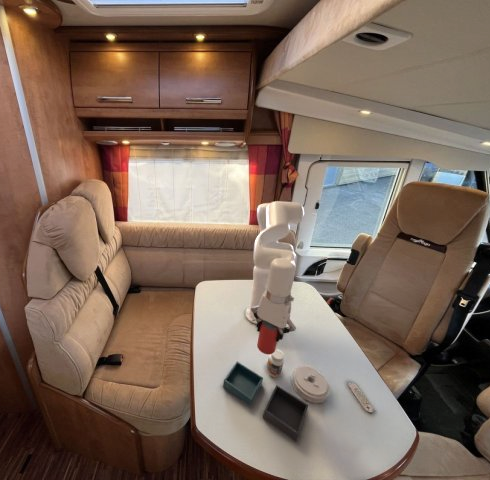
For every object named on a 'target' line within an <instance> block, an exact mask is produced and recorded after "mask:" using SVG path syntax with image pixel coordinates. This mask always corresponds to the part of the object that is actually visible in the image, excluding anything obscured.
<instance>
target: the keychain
mask: <svg viewBox="0 0 490 480" xmlns="http://www.w3.org/2000/svg"><path fill="white" fill-rule="evenodd" d="M348 387H349V389H350V390H351V392H352V393H353V394H354V397H356V399H357V400H358V402H359V404H360V405H361V407H362V408H363V409H364V411H366V412H367V413H373V411H374V407H373V406H372V405H371V404H370V402H369V401H368V399H367V398H366V396H365V395H364V394H363V392H362V391H361V390H360V388H359V386H358V385H357V384H356V383H354V382H349V383H348Z"/></svg>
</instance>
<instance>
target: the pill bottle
mask: <svg viewBox="0 0 490 480" xmlns="http://www.w3.org/2000/svg"><path fill="white" fill-rule="evenodd" d="M284 358H285V354H284V353H283V351H281V350H280V349H278V348H276V349H275V352H274V353H273V354H268V358H267V359H268V360H267V363H266V372H267V373H268V374H269V375H270V376H271V377H274V378H276V377H277V378H278V377H279V376H280V375H281V374H282V371H283V366H284V363H285V359H284Z"/></svg>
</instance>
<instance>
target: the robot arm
mask: <svg viewBox="0 0 490 480" xmlns="http://www.w3.org/2000/svg"><path fill="white" fill-rule="evenodd" d="M304 209H305V208H304V207H303V205H302V204H301V203H300V202H297V201H284V200H283V201H281V200H275V201H271V202H265V203H261V204H259V205H258V206H257V209H256V210H257V211H256V218H257V219H256V220H257V223H258V226H259V234H258V235H257V237H255V241H254V244H253V254H252V255H253V257H252V258H253V264H254V267H253V269H252V288H251V295H250V302H249V307H247V308H246V310H245V317H246V319H247V320H248V321H249V322H250V323H252V324H254V325H256V332H258V333H259V332H260V327H261V324H262V322H263V320H265V321H267V322H269V323H271V324H273V325H275V326H277V327H278V328H279V333H278V335H277V340H276V341H277V343H279V342H280V341H282V340H283V338H284V334H289V333H291V332H296V330H297V327H296V325H295V324H294V323H293V321H292V320H291V318H290V317H291V313H292V302H294V301H295V297H294V296H292V295H291V294H292V289H293V285H294V280H295V276H296V272H297V265H298V256H297V254H296V253H295V251H294V246H293V245H292V244H291V243H289V242H282V241H281V242H280V241H279V240H282V239H284V238H286V237H288V235H289V233H290V229H291V228H290V224H294V225H295V224H296V225H297V224H300V223H301V222H302V221H303V219H304V215H305V210H304Z"/></svg>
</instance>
